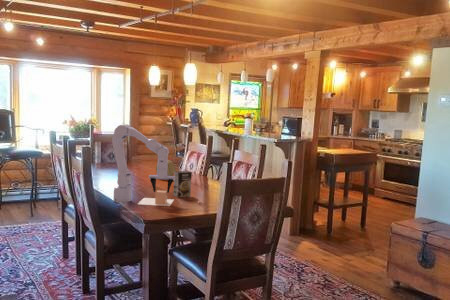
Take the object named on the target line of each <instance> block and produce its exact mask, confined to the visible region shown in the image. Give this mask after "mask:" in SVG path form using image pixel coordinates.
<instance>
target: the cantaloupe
mask: <svg viewBox="0 0 450 300" xmlns="http://www.w3.org/2000/svg"><path fill="white" fill-rule="evenodd" d="M175 171H176V165H175V164H174V162H172V160H170V159H168V169H167V176H174V172H175ZM155 172H156V174H157V164H156V166H155Z"/></svg>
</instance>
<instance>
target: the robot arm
mask: <svg viewBox="0 0 450 300" xmlns="http://www.w3.org/2000/svg"><path fill="white" fill-rule="evenodd" d="M127 137H134V138H135V139H137V140H139V141H140V142H141V143H143V144H145V146H146V148H147V149H149V150H150V151H151V152H153V153H154V154H156V156H157V164H156V165H157V173H156V174H149V175H148V180H149V181H150V184H151V185H152V190H153V192H154V193H156V191H157V189H156V186H157V180H164V181H165V180H167V190H166V191H167V194H169V193H170V188H171V187H172V183H174V180H175V176H174V175H173V176H167V169H168V160H169V159H168V158H169V156H168V155H169V154H170V150H169V148H168V147H167V146H166V145H165V146H164V144H163V143H160V142H158V141H157V139H155V138H148V137H147V136H145V135H144V134H143V133H142V132H140V131H139V130H137V129H136V128H134V127H133V126H130V125H129V124H126V123H125V124H119V125H118V126H117V127H116V128H114V133H113V135H112V138H111V139H112V140H111V143H112V147H113V152H114V157H115V161H116V166H117V170H118V172H117V181H116V183H117V185H118V186H115V187H114V189H113V202H122V203H128V202H131V201H132V183H133V181H134V179H133V176H132V175H131V173H130V169H128V165H127V159H126V155H125V150H124V146H123V141H124V140H125V139H126V138H127Z"/></svg>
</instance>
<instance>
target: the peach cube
mask: <svg viewBox="0 0 450 300" xmlns="http://www.w3.org/2000/svg"><path fill="white" fill-rule="evenodd" d="M154 198H155V204H166V202H167V199H168V193H167V190H158V189H156V191H155V195H154Z"/></svg>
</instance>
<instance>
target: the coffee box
mask: <svg viewBox="0 0 450 300" xmlns="http://www.w3.org/2000/svg"><path fill="white" fill-rule="evenodd" d="M173 176H175V180H173V189H172V190H173V193H172V195H173V196H174V197H177V198H185V197H188V198H191V190H192V171H187V170H181V171H178V170H177V171H176V170H175V172H174V174H173Z"/></svg>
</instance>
